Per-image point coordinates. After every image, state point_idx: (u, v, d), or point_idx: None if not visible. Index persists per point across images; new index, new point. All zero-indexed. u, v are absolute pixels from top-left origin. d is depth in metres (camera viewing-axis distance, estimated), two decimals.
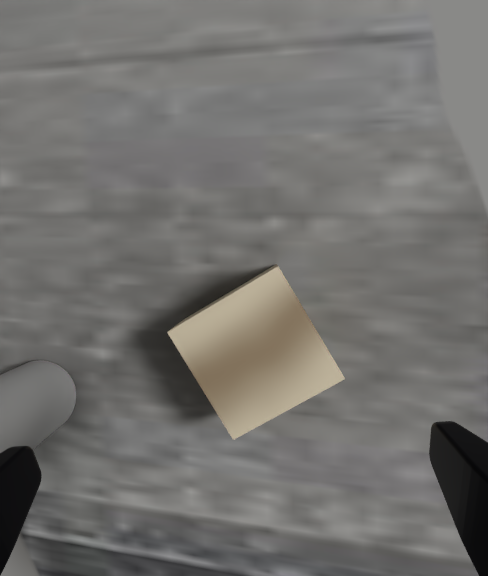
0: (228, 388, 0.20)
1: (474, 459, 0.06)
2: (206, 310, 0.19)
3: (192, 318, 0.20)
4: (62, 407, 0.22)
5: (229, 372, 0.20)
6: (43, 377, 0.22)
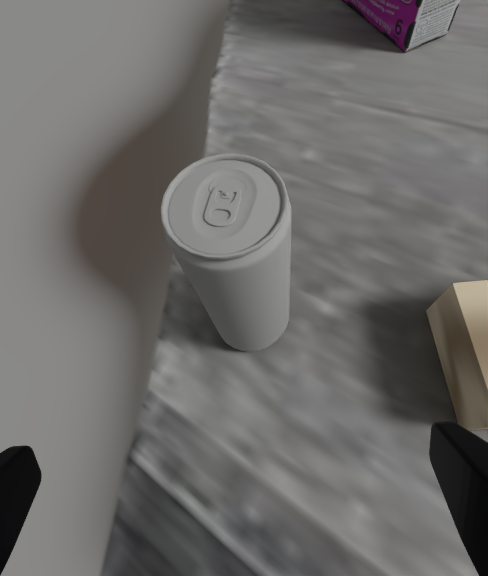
0: None
1: (474, 459, 0.06)
2: None
3: (485, 281, 0.19)
4: (283, 323, 0.21)
5: None
6: None
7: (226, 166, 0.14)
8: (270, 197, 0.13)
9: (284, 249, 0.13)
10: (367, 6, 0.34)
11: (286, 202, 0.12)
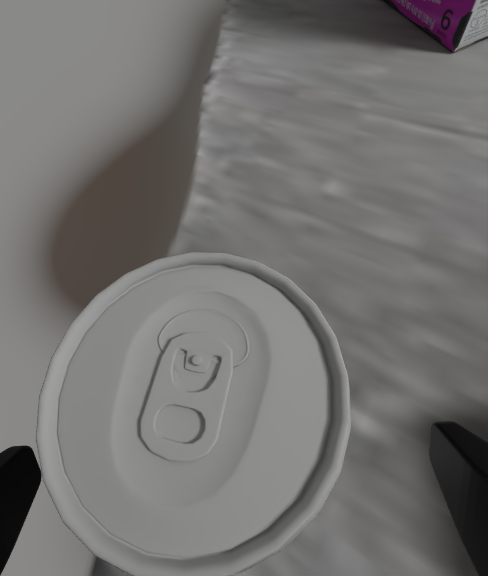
0: None
1: (474, 459, 0.06)
2: None
3: None
4: None
5: None
6: None
7: (202, 281, 0.06)
8: (304, 377, 0.05)
9: None
10: None
11: (346, 400, 0.05)
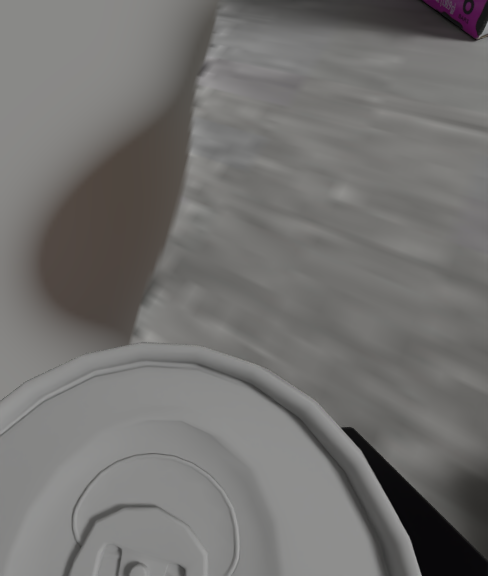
0: None
1: None
2: None
3: None
4: None
5: None
6: None
7: (159, 395, 0.03)
8: None
9: None
10: None
11: None
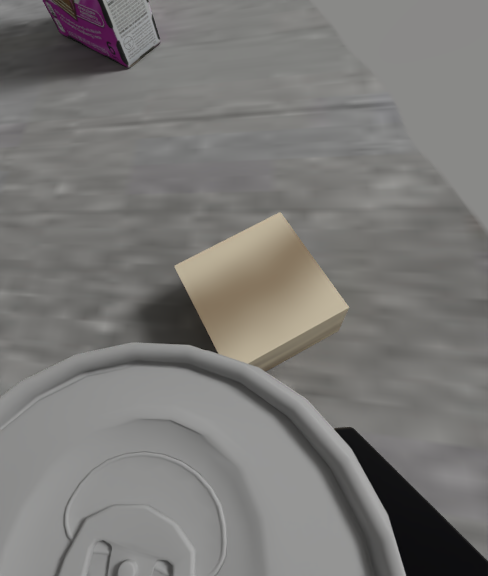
0: (228, 318, 0.19)
1: None
2: (213, 247, 0.21)
3: (199, 254, 0.21)
4: None
5: (230, 301, 0.19)
6: None
7: (149, 395, 0.04)
8: None
9: None
10: (81, 36, 0.36)
11: None
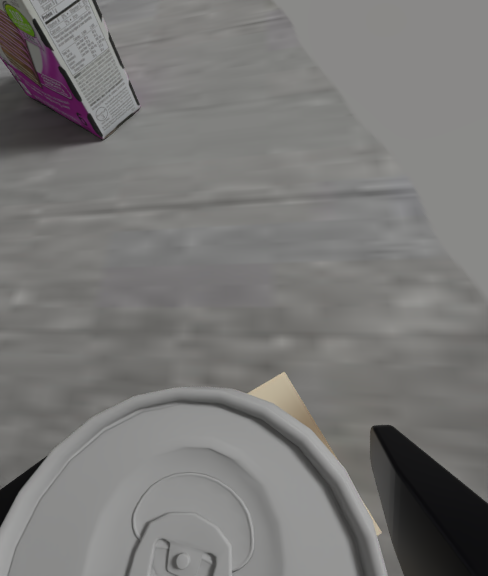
0: None
1: (399, 463, 0.06)
2: None
3: None
4: None
5: None
6: None
7: (191, 428, 0.05)
8: None
9: None
10: (49, 102, 0.31)
11: None
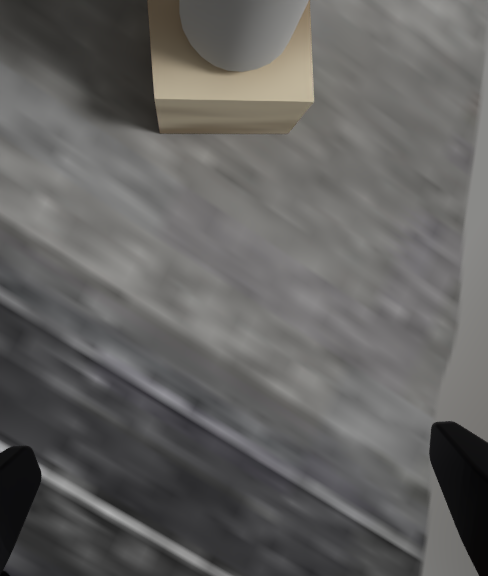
0: (181, 34, 0.15)
1: (474, 459, 0.06)
2: None
3: None
4: (277, 41, 0.14)
5: None
6: None
7: None
8: None
9: None
10: None
11: None
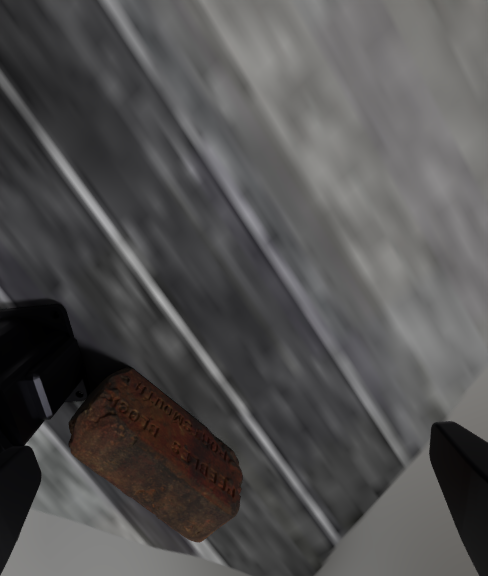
0: None
1: (474, 459, 0.06)
2: None
3: None
4: None
5: None
6: None
7: None
8: None
9: None
10: None
11: None
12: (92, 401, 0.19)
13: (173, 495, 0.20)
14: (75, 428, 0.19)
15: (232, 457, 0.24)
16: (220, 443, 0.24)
